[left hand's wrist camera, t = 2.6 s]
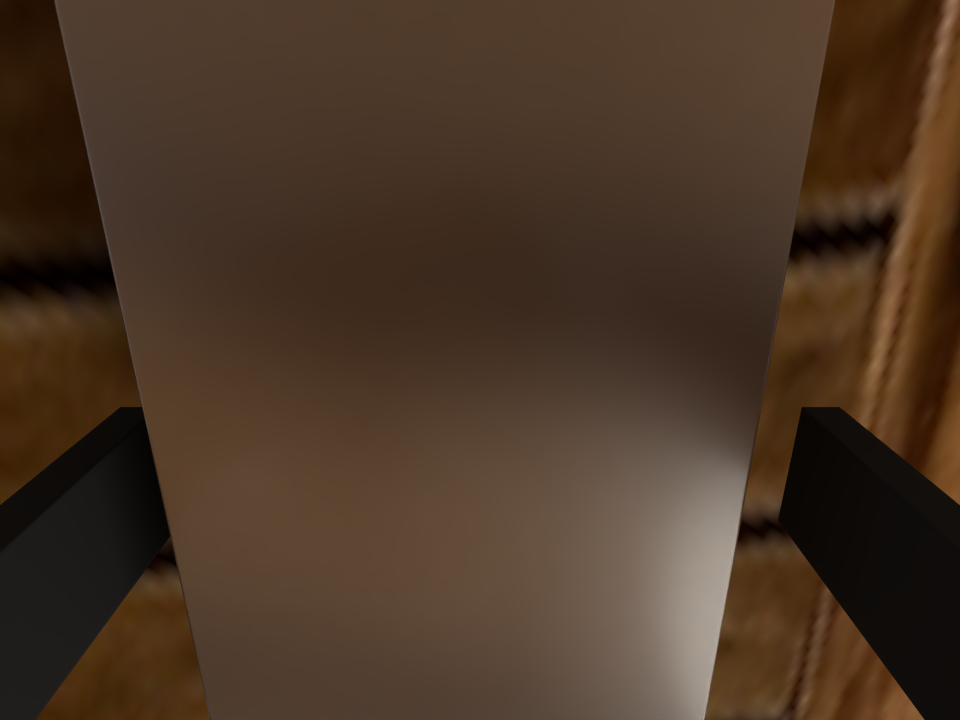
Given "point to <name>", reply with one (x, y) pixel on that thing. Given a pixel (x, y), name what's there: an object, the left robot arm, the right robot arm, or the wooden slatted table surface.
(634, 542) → the beam
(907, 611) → the left robot arm
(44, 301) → the wooden slatted table surface
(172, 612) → the wooden slatted table surface
